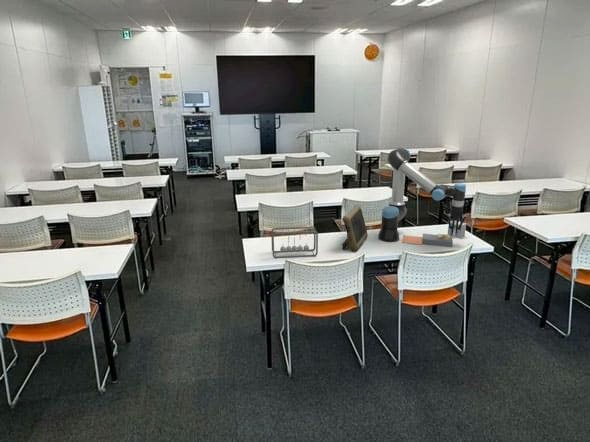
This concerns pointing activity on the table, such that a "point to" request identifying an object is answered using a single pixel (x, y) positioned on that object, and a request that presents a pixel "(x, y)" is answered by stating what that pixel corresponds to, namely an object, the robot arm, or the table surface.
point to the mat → (412, 240)
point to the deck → (436, 240)
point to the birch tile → (443, 237)
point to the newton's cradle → (294, 248)
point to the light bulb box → (460, 231)
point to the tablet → (354, 229)
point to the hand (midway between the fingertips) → (453, 237)
